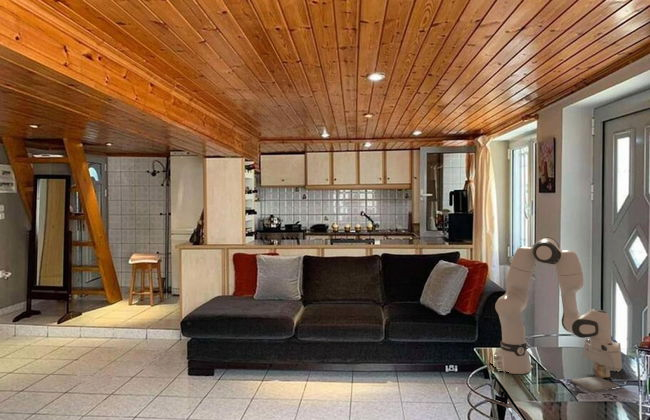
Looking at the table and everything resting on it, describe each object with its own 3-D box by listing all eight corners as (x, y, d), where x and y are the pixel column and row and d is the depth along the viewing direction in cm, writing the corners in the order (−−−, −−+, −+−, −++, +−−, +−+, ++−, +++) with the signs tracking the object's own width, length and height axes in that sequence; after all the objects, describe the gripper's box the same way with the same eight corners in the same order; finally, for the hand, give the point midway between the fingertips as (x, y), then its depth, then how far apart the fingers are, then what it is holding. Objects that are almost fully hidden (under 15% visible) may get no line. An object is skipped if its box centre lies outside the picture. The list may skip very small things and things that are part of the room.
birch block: (594, 374, 230) (594, 364, 231) (603, 373, 231) (602, 363, 231) (601, 377, 226) (601, 367, 226) (610, 376, 227) (609, 366, 227)
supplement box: (622, 368, 239) (621, 342, 239) (619, 372, 233) (617, 346, 233) (605, 365, 244) (604, 340, 244) (602, 369, 238) (600, 344, 238)
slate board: (570, 381, 224) (570, 379, 224) (597, 378, 227) (597, 376, 227) (592, 392, 210) (592, 389, 210) (620, 388, 213) (620, 386, 213)
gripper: (579, 338, 238) (580, 366, 238) (611, 349, 218) (612, 380, 218) (590, 337, 240) (592, 365, 239) (623, 348, 219) (624, 378, 219)
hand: (602, 372), depth 229 cm, fingers closed on birch block, 4 cm apart
